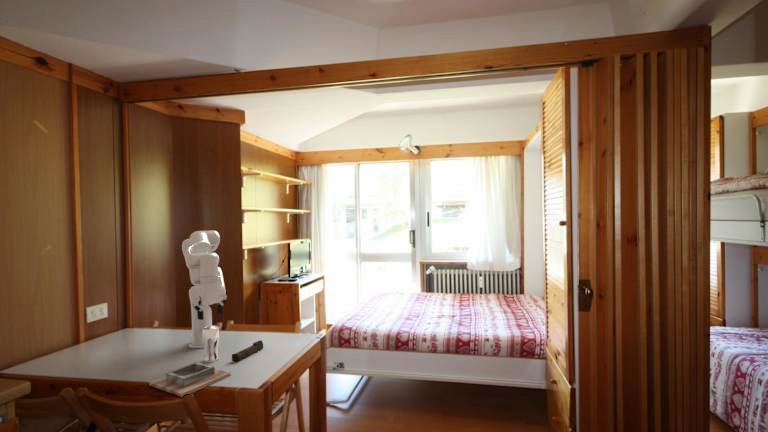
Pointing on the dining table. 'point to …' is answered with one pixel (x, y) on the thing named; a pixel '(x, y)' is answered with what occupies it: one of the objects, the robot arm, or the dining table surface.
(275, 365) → the dining table surface
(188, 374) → the glass dock
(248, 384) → the dining table surface
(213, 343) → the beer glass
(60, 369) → the dining table surface
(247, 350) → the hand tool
